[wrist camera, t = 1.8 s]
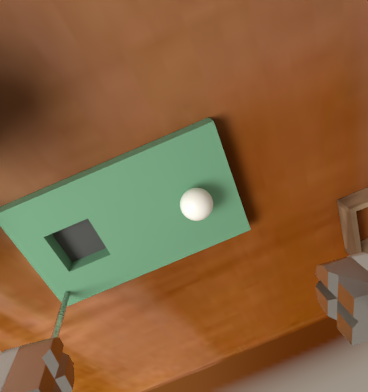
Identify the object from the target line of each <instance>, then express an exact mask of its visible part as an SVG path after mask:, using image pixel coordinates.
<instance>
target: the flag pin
mask: <svg viewBox="0 0 368 392" xmlns="http://www.w3.org/2000/svg"><path fill="white" fill-rule="evenodd" d="M69 297H70V292H69V291H65V293H64V296H63V299H62V302H61V306H60V309H59V312H58V315H57V319H56V322H55V325H54V329H53V332H52V335H51V338H54V337H59V333H60V330H61V326H62V322H63V319H64V315H65V312H66V308H67V304H68V301H69ZM72 364H74V363H73V362H72Z"/></svg>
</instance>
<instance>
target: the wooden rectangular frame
mask: <svg viewBox="0 0 368 392" xmlns="http://www.w3.org/2000/svg"><path fill="white" fill-rule="evenodd" d="M337 203H338V209H339V215H340V221H341V227H342V233H343V238H344V244H345V250H346V252H347V253H348V254H349V255H354V254H357V253H361V252H364V253H367V254H368V239H365V240H363V241H360V236H359V229H358V221H357V214H356V211H359V210H361V209H363V208H366V207H368V187H367V188H365V189H362V190H360V191H358V192H355V193H353V194H350V195H348V196H346V197H343V198H341V199H338V200H337Z"/></svg>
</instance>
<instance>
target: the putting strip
mask: <svg viewBox="0 0 368 392" xmlns="http://www.w3.org/2000/svg"><path fill="white" fill-rule="evenodd" d="M191 188H202V189H204V190H206V191H207V192H208V193H209V194H210V195H211V197H212V199H213V209H212V212H211V213H210V215H209V216H208V217H207V218H205V219H203V220H200V221H193V220H190V219H188V218H187V217H185V216H184V214H183V213H182V211H181V208H180V200H181V197H182V195H183V194H184V193H185V192H186V191H187V190H189V189H191ZM0 226H1V228H2V229H3V230H4V231H5V233H6V234H7V235H8V236H9V238H10V239H11V240H12V241H13V243H14V244H15V245H16V246H17V248H18V249H19V250H20V251H21V253H22V254H23V255H24V256H25V258H26V259H27V260H28V261H29V263H30V264H31V265H32V266H33V268H34V269H35V270H36V271H37V273H38V274H39V275H40V276H41V278H42V279H43V280H44V281H45V283H46V284H47V285H48V286H49V288H50V289H51V290H52V291H53V293H54V294H55V295H56V296H57V298H58V299H59V300H60V301H61V302H62V299H63V296H64V293H65V291H69V292H70V297H69V301H68V304H67V306H69V305H72V304H74V303H76V302H79V301H81V300H84V299H86V298H88V297H91V296H93V295H96V294H98V293H100V292H103V291H105V290H108V289H110V288H112V287H115V286H117V285H120V284H122V283H124V282H127V281H129V280H132V279H134V278H136V277H139V276H141V275H144V274H146V273H148V272H151V271H153V270H156V269H158V268H160V267H163V266H165V265H168V264H170V263H172V262H175V261H177V260H179V259H182V258H184V257H187V256H189V255H191V254H194V253H196V252H199V251H201V250H203V249H206V248H208V247H211V246H213V245H215V244H218V243H220V242H223V241H225V240H227V239H230V238H232V237H235V236H237V235H239V234H242V233H244V232H247V231H249V230H251V229H250V226H249V223H248V220H247V217H246V215H245V212H244V209H243V206H242V203H241V200H240V197H239V194H238V191H237V188H236V185H235V182H234V179H233V176H232V173H231V171H230V168H229V165H228V162H227V159H226V156H225V153H224V150H223V147H222V144H221V141H220V138H219V135H218V132H217V129H216V126H215V124H214V121H213V120H212V119H210V118H209V117H208V118H206V119H204V120H201V121H199V122H197V123H194V124H192V125H190V126H187V127H185V128H183V129H180V130H178V131H176V132H173V133H171V134H169V135H166V136H164V137H162V138H159V139H157V140H155V141H152V142H150V143H148V144H145V145H143V146H141V147H138V148H136V149H134V150H131V151H129V152H127V153H124V154H122V155H120V156H117V157H115V158H113V159H111V160H108V161H106V162H104V163H101V164H99V165H97V166H94V167H92V168H90V169H87V170H85V171H83V172H80V173H78V174H76V175H73V176H71V177H69V178H66V179H64V180H62V181H59V182H57V183H55V184H52V185H50V186H48V187H45V188H43V189H41V190H38V191H36V192H34V193H31V194H29V195H27V196H24V197H22V198H20V199H17V200H15V201H13V202H10V203H8V204H6V205H3V206H1V207H0Z"/></svg>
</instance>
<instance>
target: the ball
mask: <svg viewBox="0 0 368 392" xmlns="http://www.w3.org/2000/svg"><path fill="white" fill-rule="evenodd" d="M180 208H181V211H182V213H183V214H184V216H185V217H187V218H188V219H190V220H193V221H200V220H203V219H205V218H207V217H208V216H209V215H210V213H211V212H212V209H213V199H212V197H211V195H210V194H209V193H208V192H207V191H206V190H204V189H202V188H191V189H189V190H187V191H186V192H185V193H184V194H183V195H182V197H181V200H180Z"/></svg>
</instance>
